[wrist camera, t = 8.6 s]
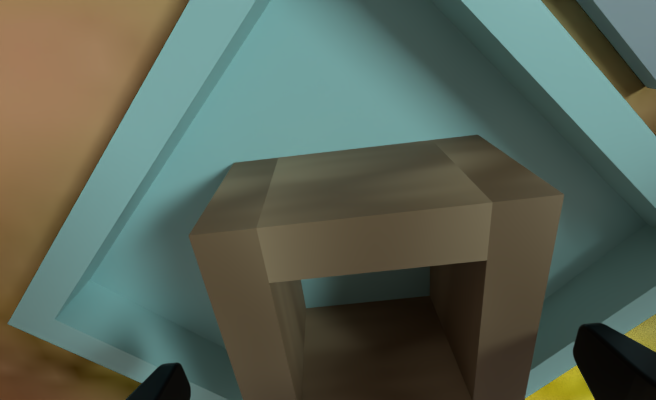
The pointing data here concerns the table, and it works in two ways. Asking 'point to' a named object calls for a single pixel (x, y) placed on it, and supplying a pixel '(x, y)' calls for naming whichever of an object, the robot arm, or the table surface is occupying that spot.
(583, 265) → the tray
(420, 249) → the walnut square frame
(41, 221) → the table surface
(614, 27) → the grey square knobbed piece
